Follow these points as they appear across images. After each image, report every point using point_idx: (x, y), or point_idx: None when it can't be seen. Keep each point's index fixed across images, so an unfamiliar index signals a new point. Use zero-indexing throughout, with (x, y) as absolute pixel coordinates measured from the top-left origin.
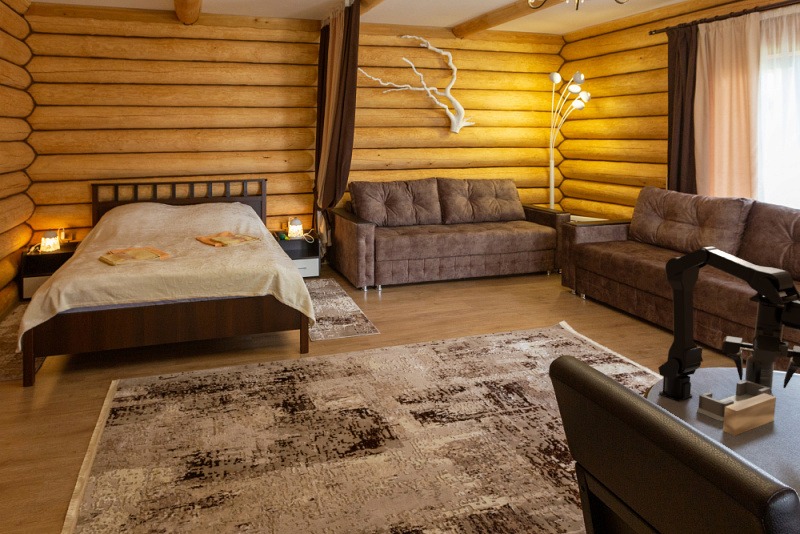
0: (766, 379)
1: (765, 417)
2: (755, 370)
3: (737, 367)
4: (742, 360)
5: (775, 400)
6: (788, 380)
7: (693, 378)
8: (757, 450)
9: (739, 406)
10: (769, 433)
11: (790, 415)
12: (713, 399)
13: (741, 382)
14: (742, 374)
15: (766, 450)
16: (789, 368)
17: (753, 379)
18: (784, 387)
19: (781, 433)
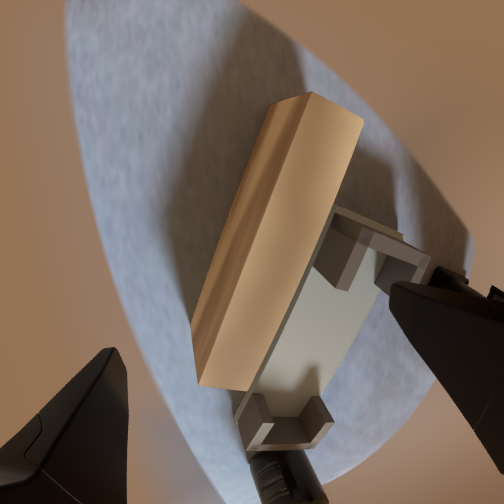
0: (267, 478)
1: (208, 290)
2: (300, 486)
3: (490, 302)
4: (472, 405)
5: (197, 373)
6: (67, 388)
7: (398, 408)
8: (176, 31)
9: (313, 164)
10: (170, 205)
11: (165, 384)
12: (396, 250)
13: (323, 432)
14: (415, 313)
15: (149, 49)
16: (16, 481)
17: (294, 465)
18: (108, 349)
19: (137, 235)
